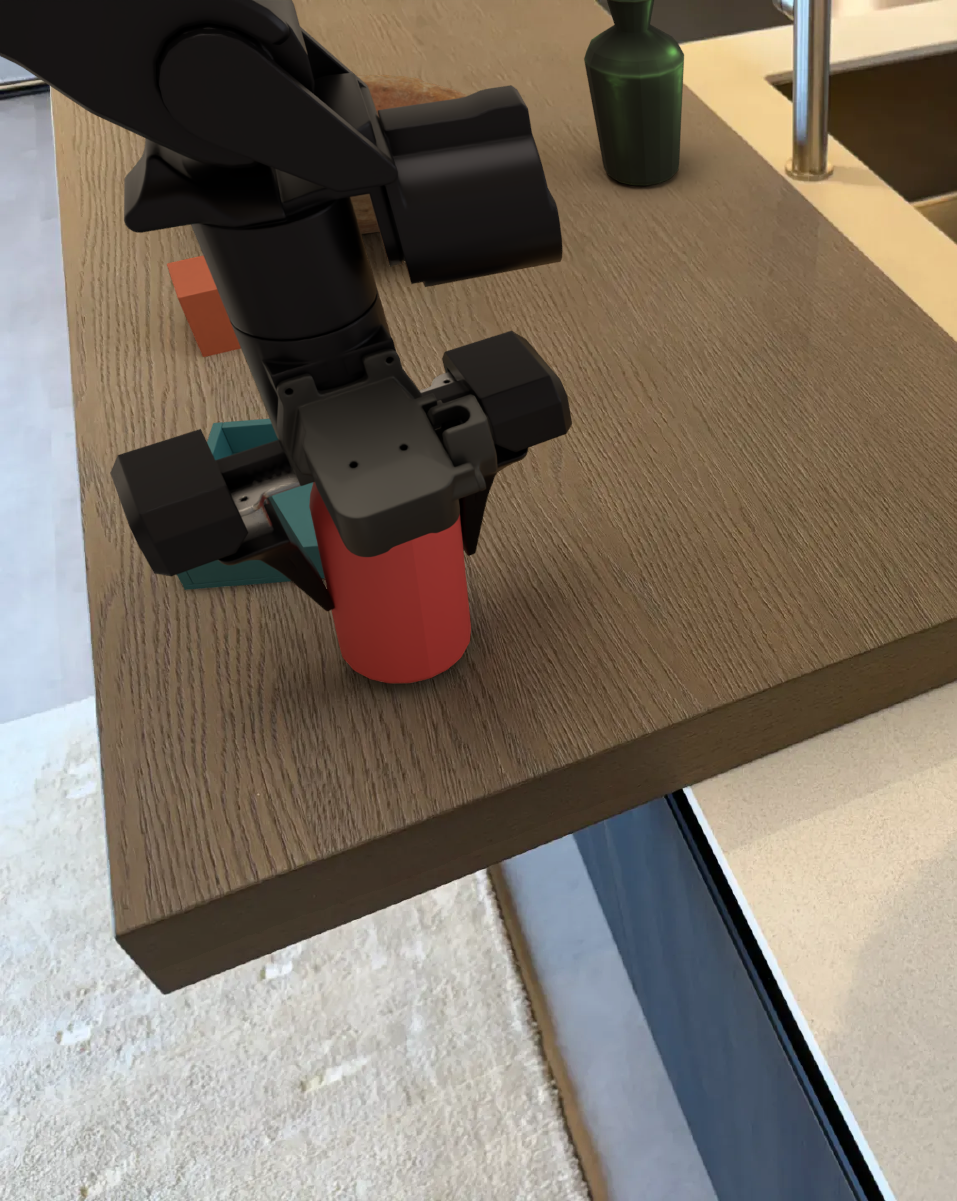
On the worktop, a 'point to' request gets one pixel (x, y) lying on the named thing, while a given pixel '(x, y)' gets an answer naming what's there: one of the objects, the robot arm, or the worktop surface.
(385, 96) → the bowl
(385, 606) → the beer can
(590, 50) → the potion bottle
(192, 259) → the terracotta block
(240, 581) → the tray
